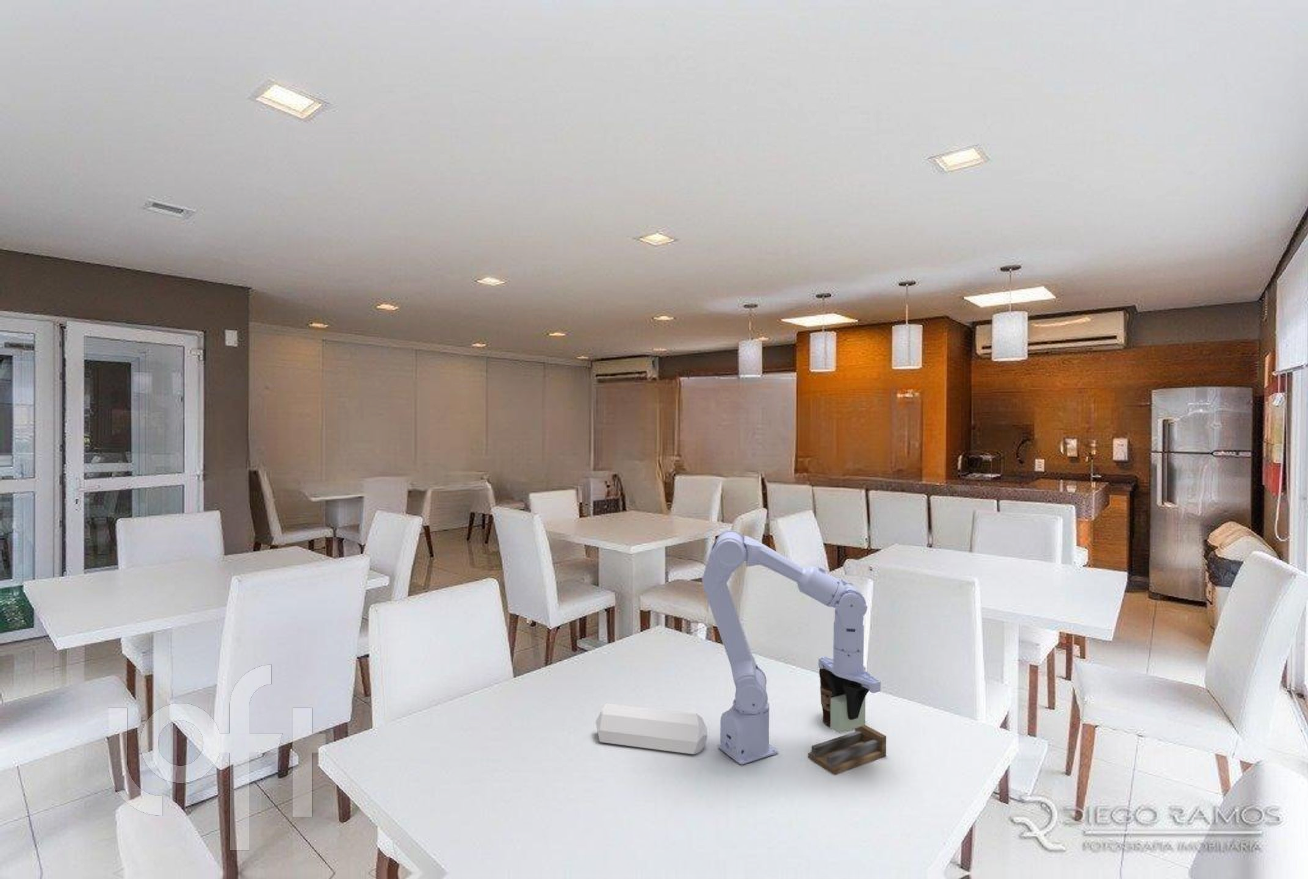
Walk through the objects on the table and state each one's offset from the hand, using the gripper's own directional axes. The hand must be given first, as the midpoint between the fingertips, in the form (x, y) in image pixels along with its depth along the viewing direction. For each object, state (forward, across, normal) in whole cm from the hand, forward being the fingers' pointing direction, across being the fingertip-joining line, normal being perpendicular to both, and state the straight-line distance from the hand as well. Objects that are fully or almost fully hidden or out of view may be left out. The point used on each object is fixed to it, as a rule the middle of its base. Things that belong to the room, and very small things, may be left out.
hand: (847, 715), depth 128 cm
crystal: (+9, +24, +31) cm, 41 cm away
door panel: (+2, 0, 0) cm, 2 cm away
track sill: (+8, 0, 0) cm, 8 cm away
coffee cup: (+9, +12, -9) cm, 17 cm away
